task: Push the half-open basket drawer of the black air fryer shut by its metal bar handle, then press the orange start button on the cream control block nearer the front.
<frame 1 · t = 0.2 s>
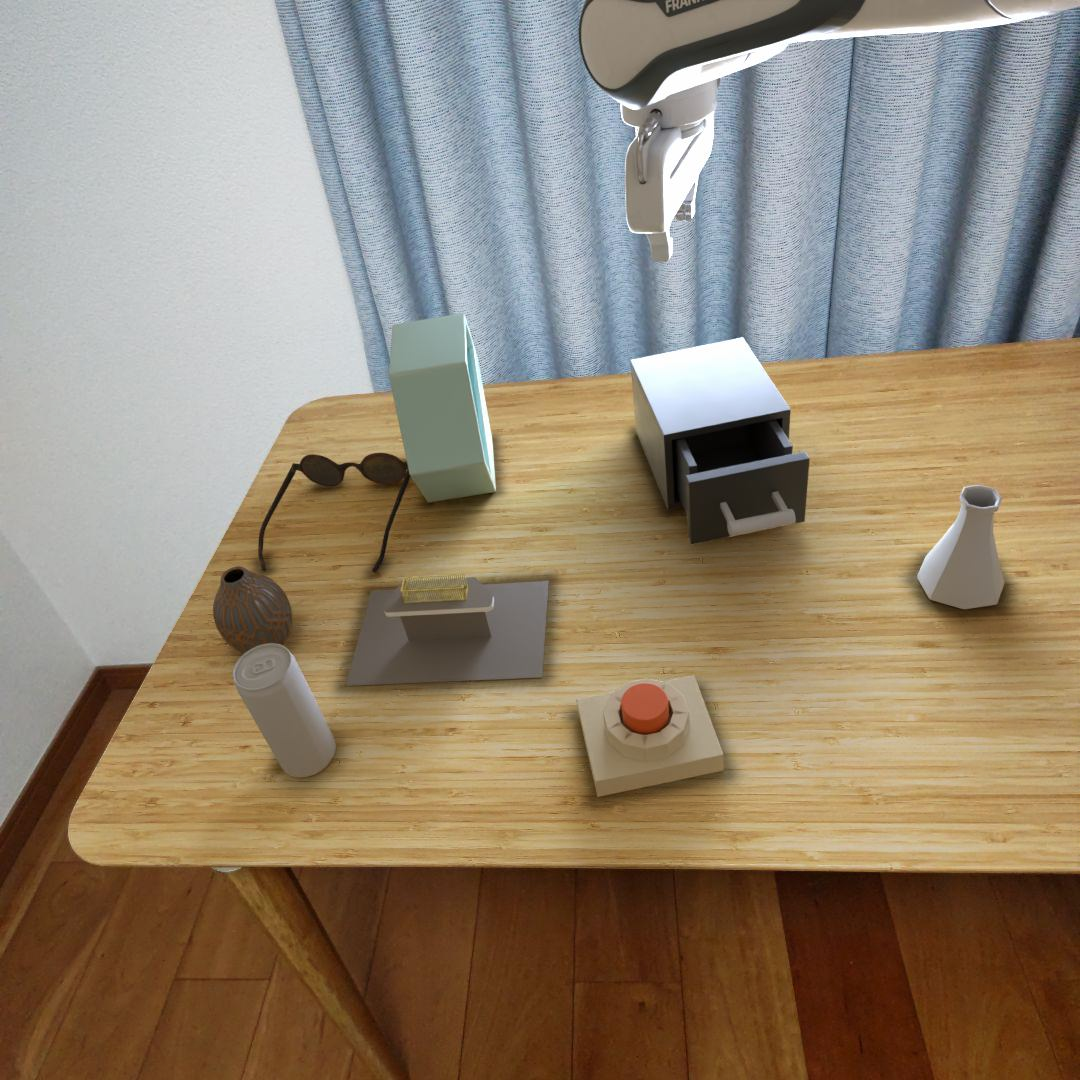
hand: (674, 237, 92), 21 cm above the table, tool pointing down, fingers open, 8 cm apart
eyeglasses: (340, 527, 99), on the table
planter: (461, 475, 103), on the table
basket drawer: (733, 473, 88), point 5 cm above the table, slide at 5.5 cm
start button: (645, 708, 69), point 4 cm above the table, slide at 0.1 cm
platform: (451, 632, 85), on the table
vase: (266, 640, 87), on the table
flask: (959, 583, 81), on the table
air fryer: (706, 457, 98), on the table
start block: (648, 742, 72), on the table
beverage can: (310, 757, 76), on the table
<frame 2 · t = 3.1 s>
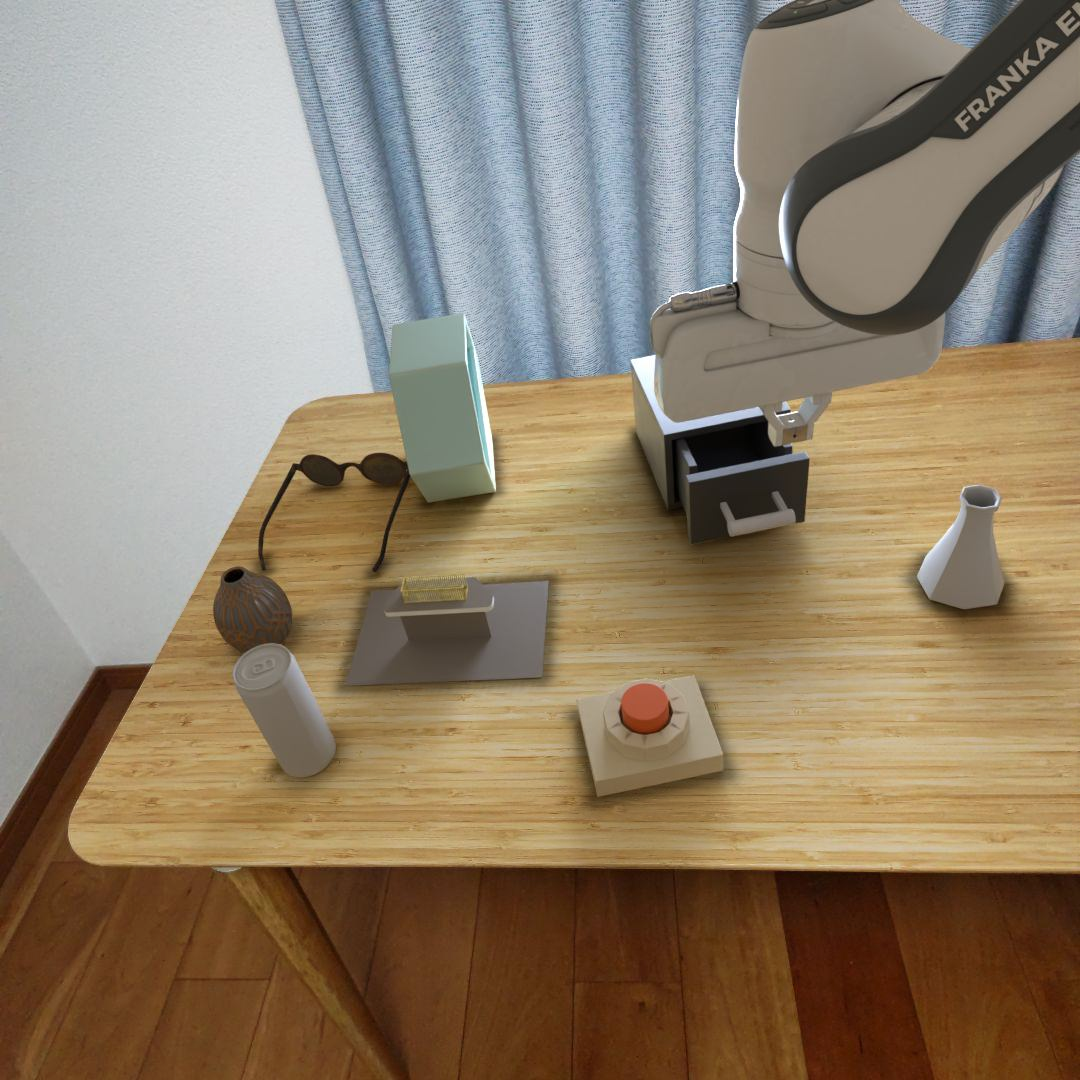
hand: (789, 439, 69), 19 cm above the table, tool pointing down, fingers closed
nothing on the table moved.
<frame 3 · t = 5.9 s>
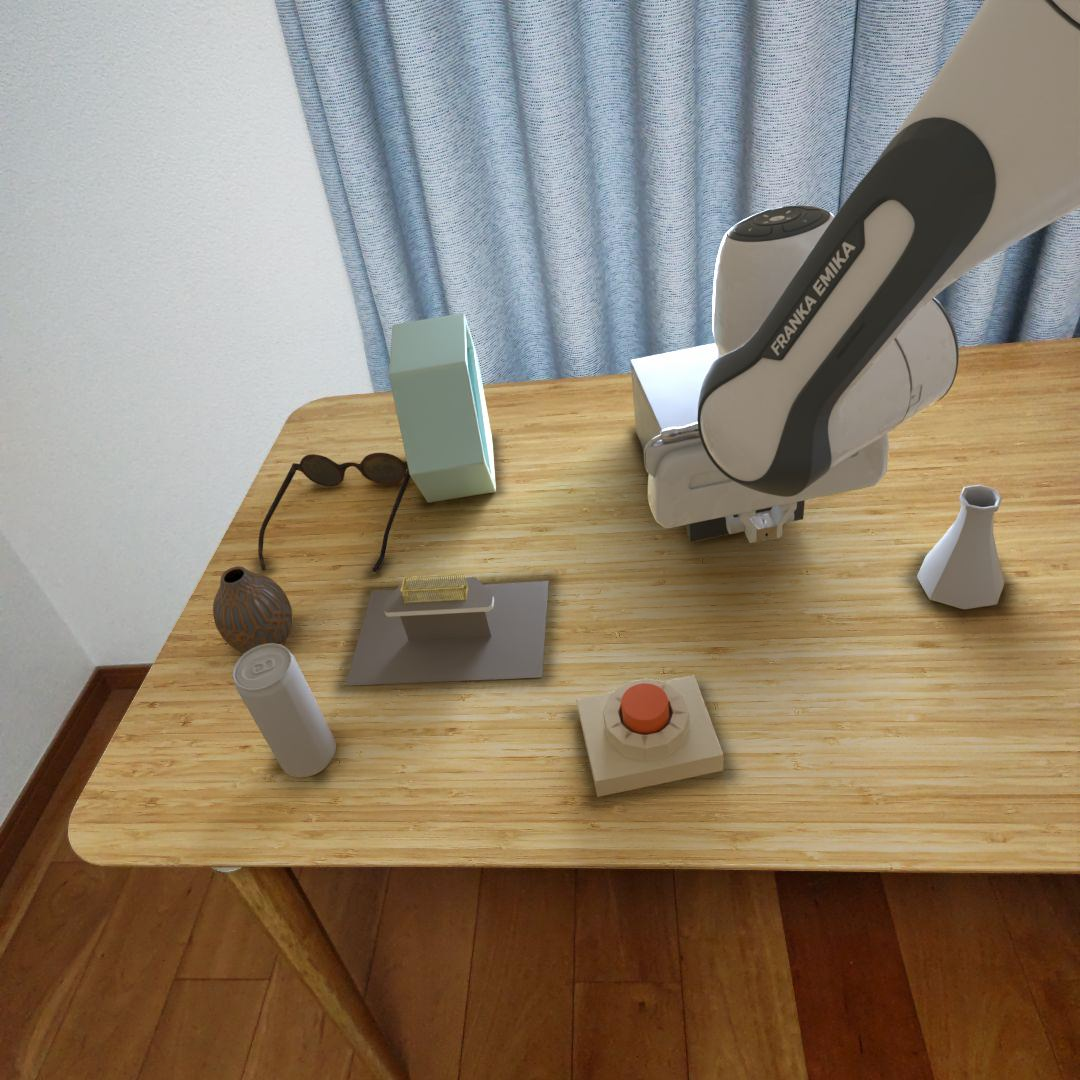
hand: (763, 535, 81), 5 cm above the table, tool pointing down, fingers closed, pressing on basket drawer
basket drawer: (732, 471, 89), point 5 cm above the table, slide at 5.1 cm, touching gripper
everything else where it was.
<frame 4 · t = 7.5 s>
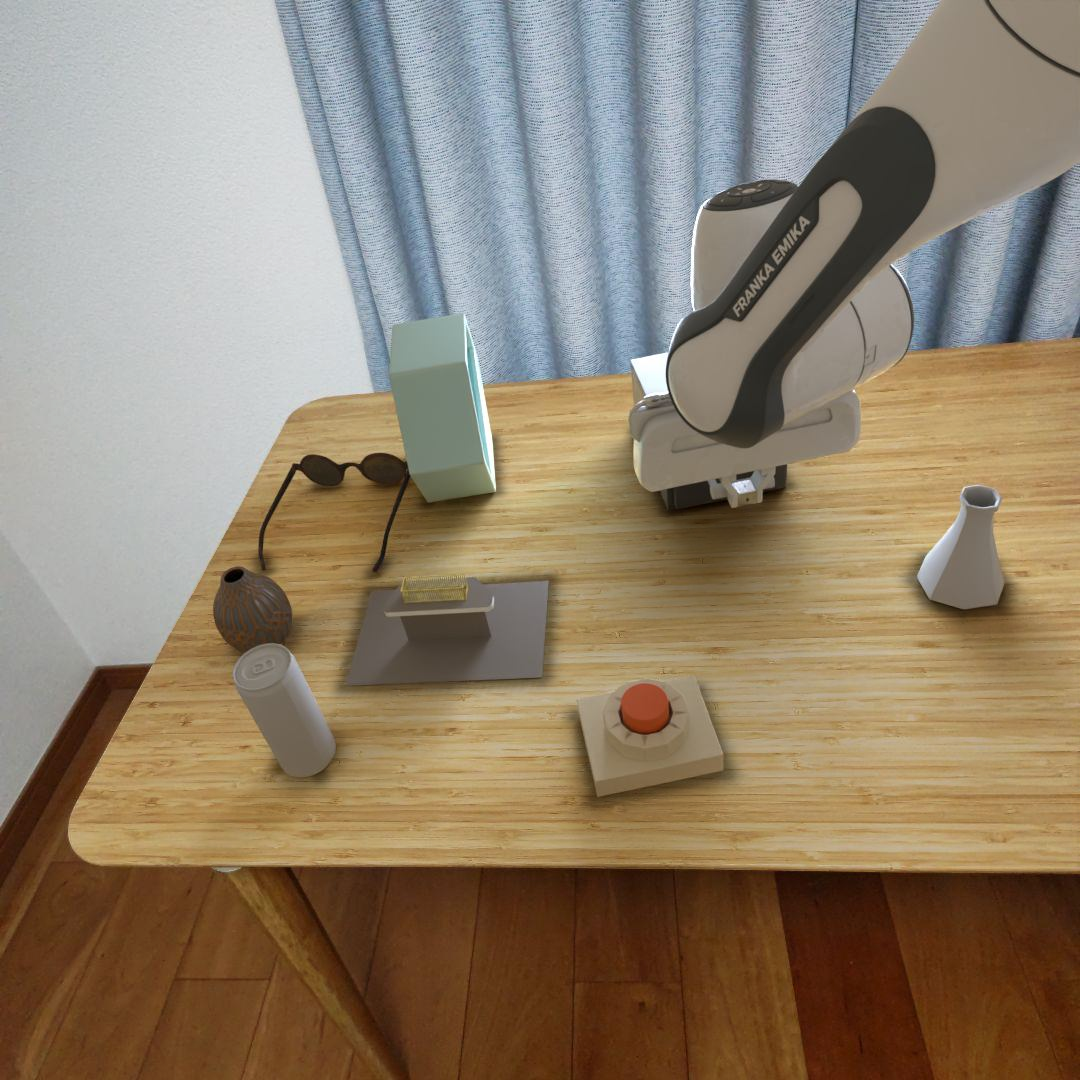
hand: (744, 501, 85), 5 cm above the table, tool pointing down, fingers closed, pressing on basket drawer
basket drawer: (717, 442, 92), point 5 cm above the table, slide at 0.0 cm, touching gripper
everything else where it was.
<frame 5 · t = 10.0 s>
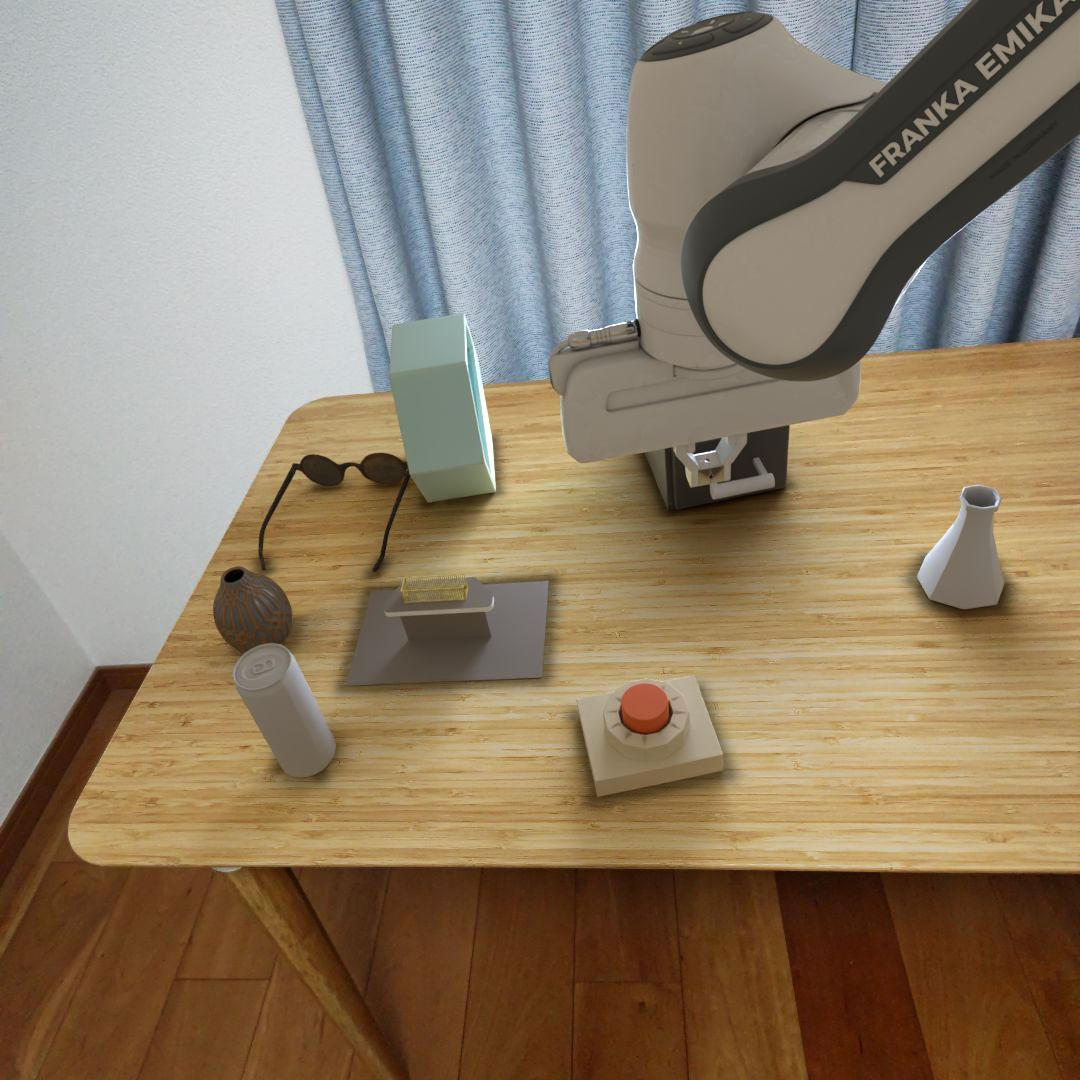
hand: (707, 479, 66), 19 cm above the table, tool pointing down, fingers closed
basket drawer: (717, 442, 92), point 5 cm above the table, slide at 0.0 cm
everything else where it was.
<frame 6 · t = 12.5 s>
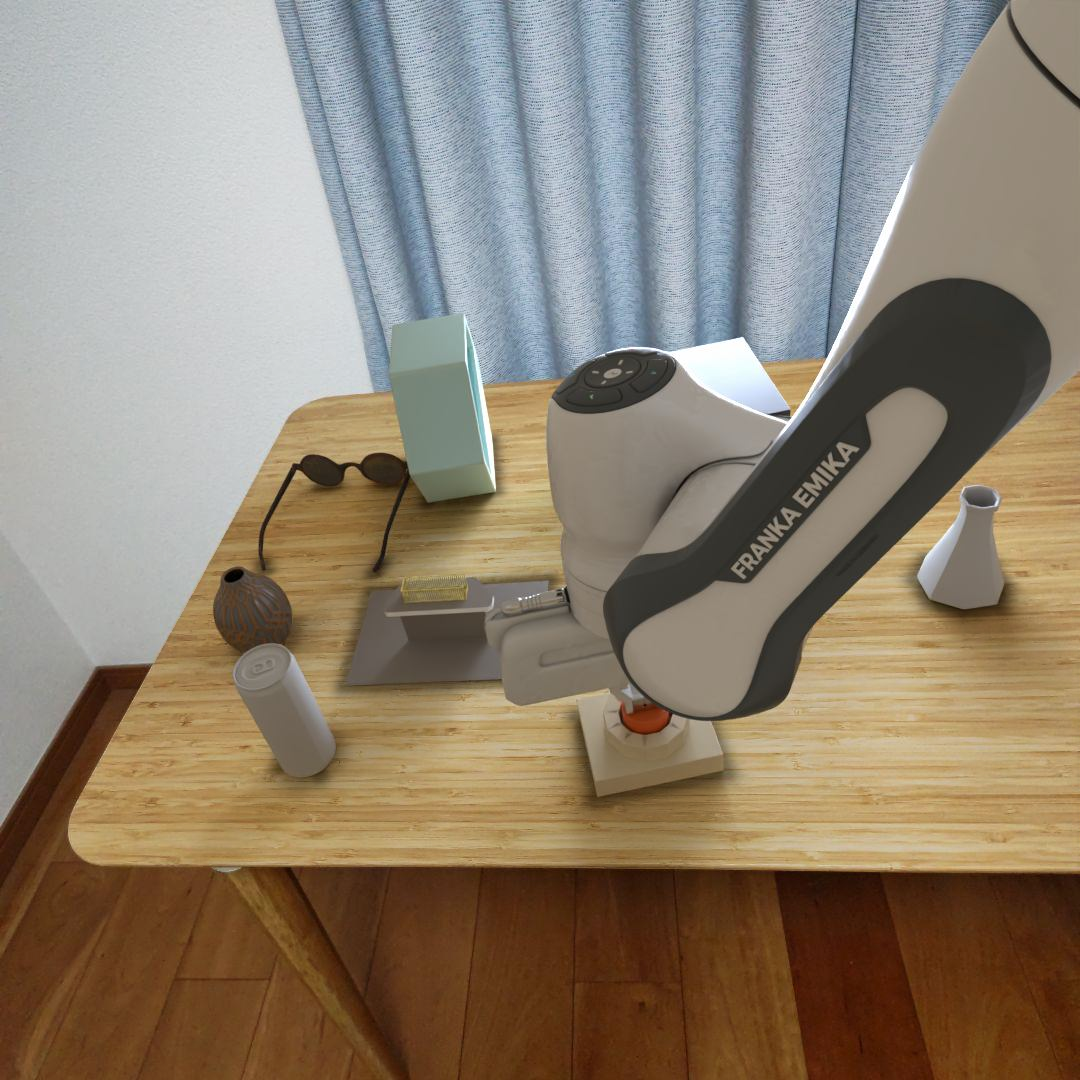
hand: (643, 703, 69), 5 cm above the table, tool pointing down, fingers closed, pressing on start button
start button: (645, 710, 70), point 4 cm above the table, slide at -0.1 cm, touching gripper
everything else where it was.
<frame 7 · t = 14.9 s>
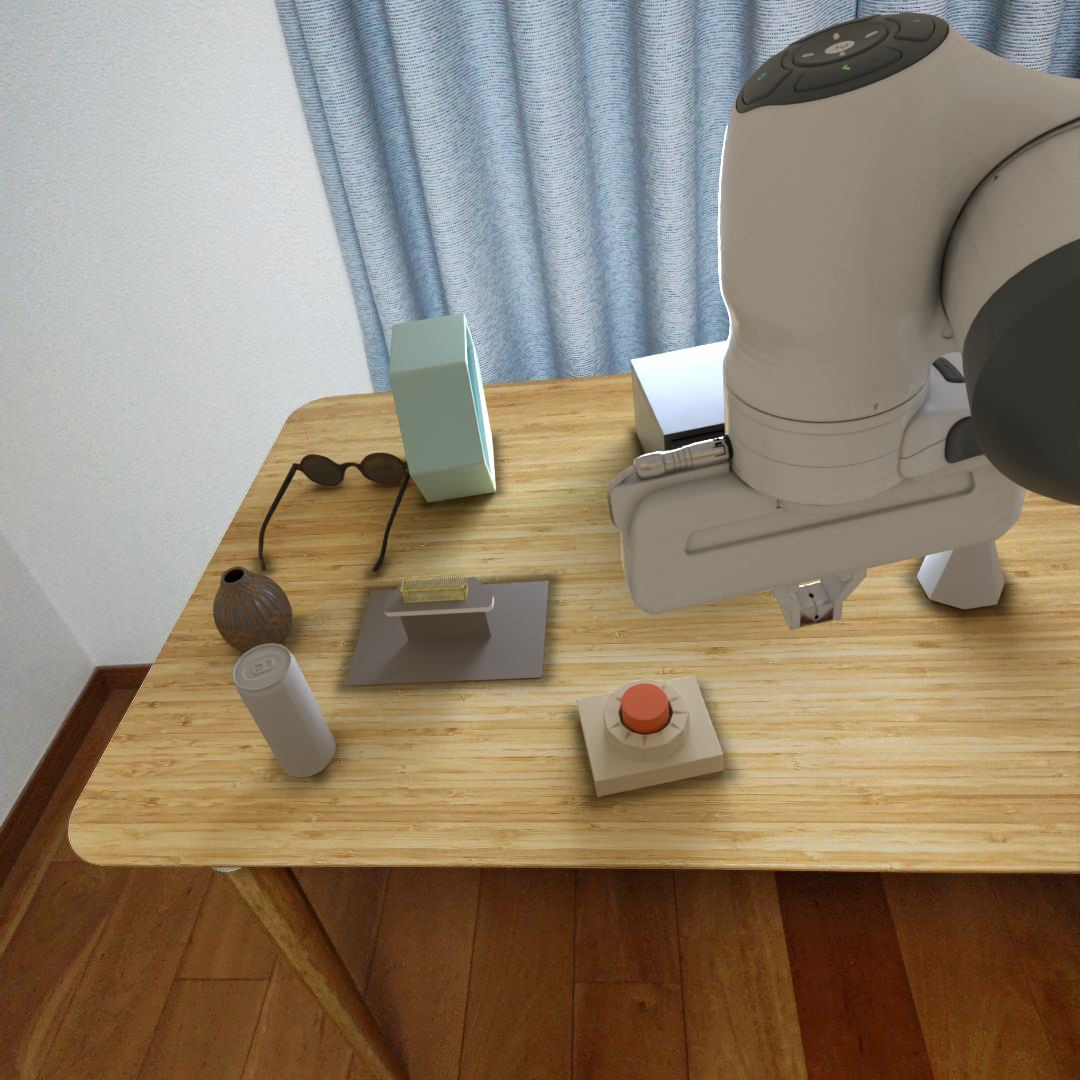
hand: (810, 616, 51), 22 cm above the table, tool pointing down, fingers closed
start button: (645, 708, 69), point 4 cm above the table, slide at 0.1 cm
everything else where it was.
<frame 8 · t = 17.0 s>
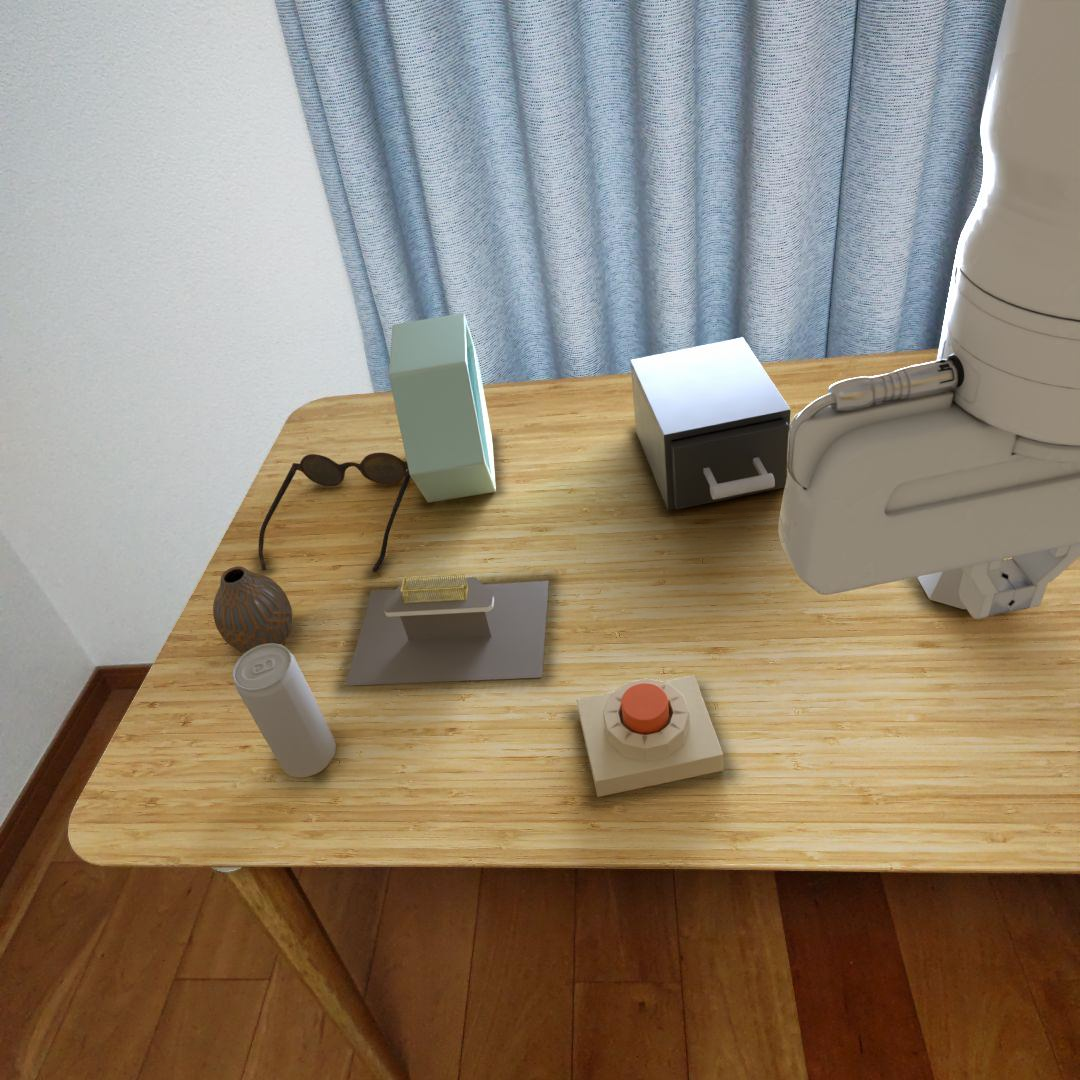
hand: (997, 603, 41), 29 cm above the table, tool pointing down, fingers closed
nothing on the table moved.
at the end: basket drawer slide at 0.0 cm; start button pushed in 1.0 cm at the most during the clip, back to where it started at the end; start button slide at 0.1 cm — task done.
